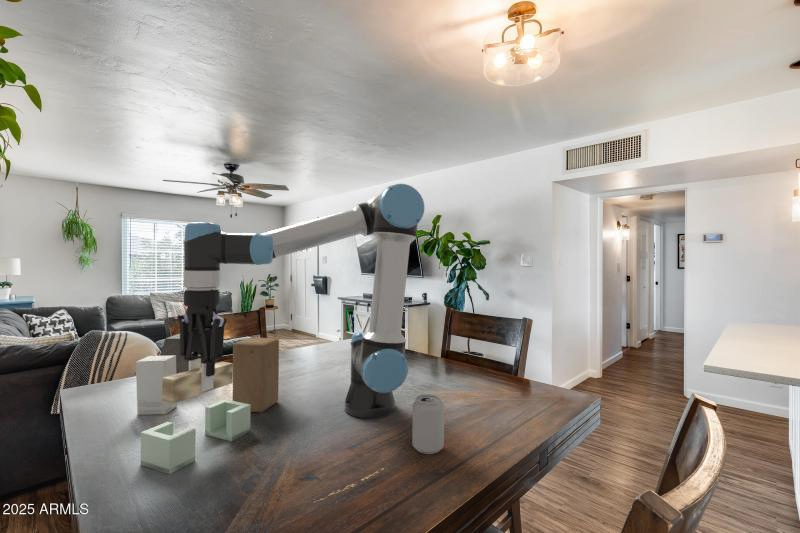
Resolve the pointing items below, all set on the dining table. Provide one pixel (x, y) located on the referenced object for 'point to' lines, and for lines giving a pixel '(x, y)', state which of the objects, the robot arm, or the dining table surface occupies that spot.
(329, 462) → the dining table surface
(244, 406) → the end caps
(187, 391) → the slat
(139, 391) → the skincare box
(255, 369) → the wooden block
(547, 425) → the dining table surface
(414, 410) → the can
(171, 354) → the planter
